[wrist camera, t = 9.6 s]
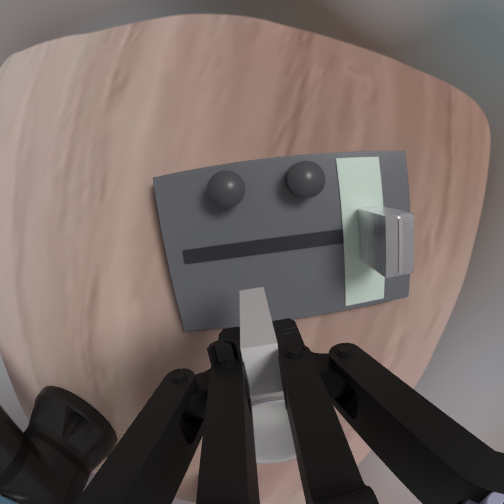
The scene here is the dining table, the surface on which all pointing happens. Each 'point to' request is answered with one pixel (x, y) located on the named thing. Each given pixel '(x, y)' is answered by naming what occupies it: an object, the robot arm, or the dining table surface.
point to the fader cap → (387, 240)
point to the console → (277, 234)
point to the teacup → (272, 429)
